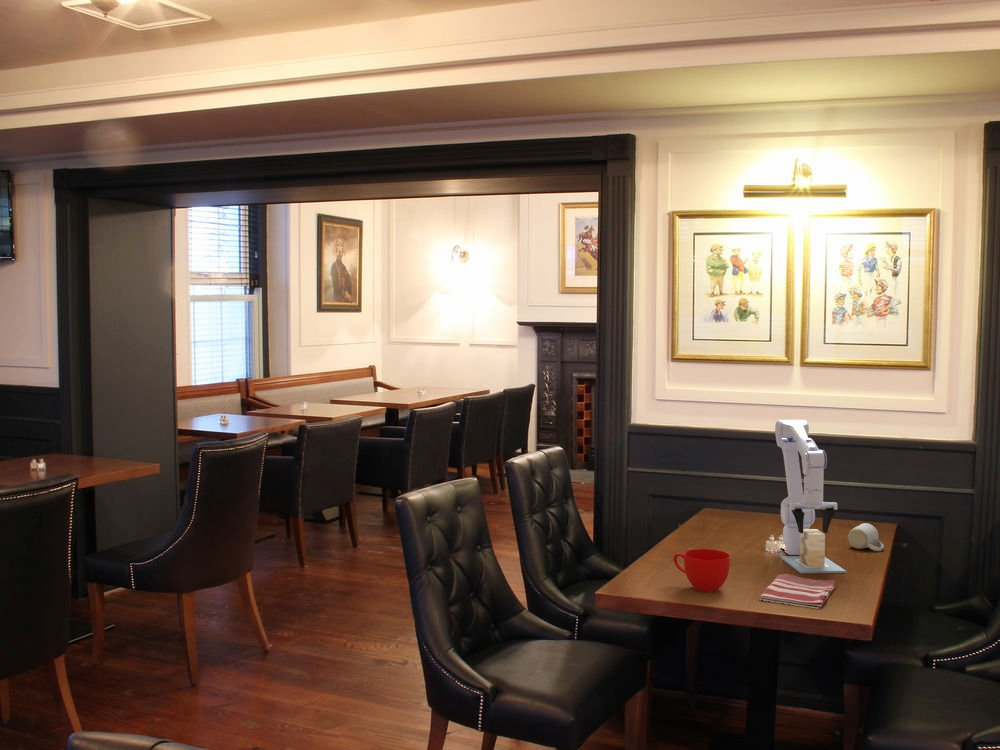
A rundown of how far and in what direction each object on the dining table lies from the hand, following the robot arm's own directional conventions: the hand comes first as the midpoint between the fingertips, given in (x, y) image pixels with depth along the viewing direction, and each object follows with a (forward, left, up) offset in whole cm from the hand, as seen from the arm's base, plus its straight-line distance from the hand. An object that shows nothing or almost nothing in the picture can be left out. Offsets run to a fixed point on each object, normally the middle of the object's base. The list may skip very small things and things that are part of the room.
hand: (812, 532), depth 295 cm
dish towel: (+29, -15, -11) cm, 34 cm away
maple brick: (0, 0, -10) cm, 10 cm away
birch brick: (0, 0, -5) cm, 5 cm away
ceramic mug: (-20, +26, -11) cm, 35 cm away
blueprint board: (0, 0, -10) cm, 10 cm away
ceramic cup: (+22, -41, -11) cm, 48 cm away
